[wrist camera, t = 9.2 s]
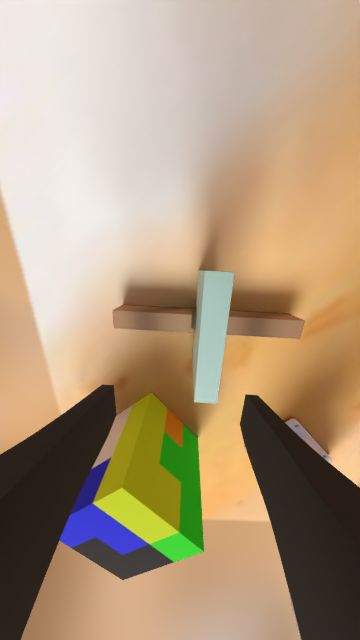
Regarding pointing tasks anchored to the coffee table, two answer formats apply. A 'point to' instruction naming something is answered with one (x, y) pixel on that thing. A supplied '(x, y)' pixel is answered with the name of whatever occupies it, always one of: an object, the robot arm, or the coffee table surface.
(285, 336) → the walnut rail
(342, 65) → the coffee table surface
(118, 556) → the puzzle toy
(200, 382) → the teal plate
